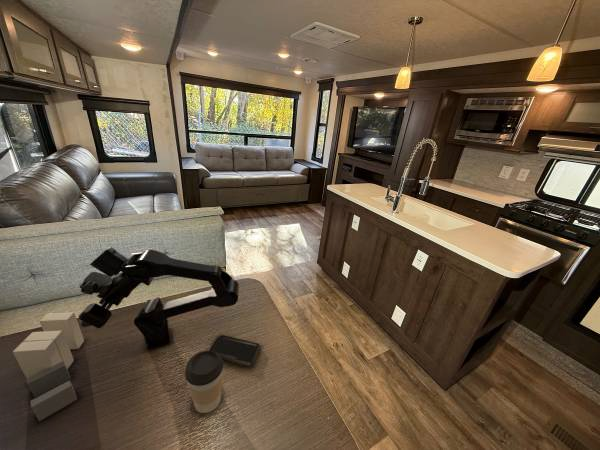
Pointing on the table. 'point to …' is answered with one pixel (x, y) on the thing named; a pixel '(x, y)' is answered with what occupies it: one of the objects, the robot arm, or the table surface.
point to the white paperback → (64, 327)
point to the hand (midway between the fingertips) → (91, 314)
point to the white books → (42, 352)
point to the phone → (236, 350)
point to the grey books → (54, 397)
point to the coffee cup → (205, 380)
